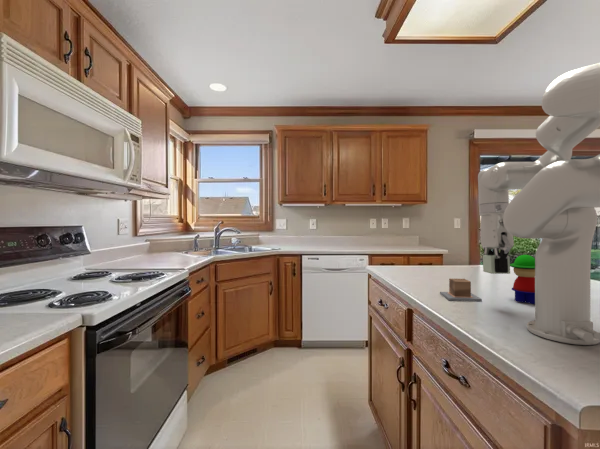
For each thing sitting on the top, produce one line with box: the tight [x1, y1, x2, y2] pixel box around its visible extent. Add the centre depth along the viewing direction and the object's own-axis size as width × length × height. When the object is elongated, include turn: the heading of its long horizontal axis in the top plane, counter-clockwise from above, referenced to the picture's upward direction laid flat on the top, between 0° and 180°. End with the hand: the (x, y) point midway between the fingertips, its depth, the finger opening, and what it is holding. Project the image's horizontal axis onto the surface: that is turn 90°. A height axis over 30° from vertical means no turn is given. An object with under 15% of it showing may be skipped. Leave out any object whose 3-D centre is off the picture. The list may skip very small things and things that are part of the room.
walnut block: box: [448, 277, 472, 297], centre depth 101 cm, size 5×5×5 cm
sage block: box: [482, 254, 511, 275], centre depth 89 cm, size 5×5×5 cm
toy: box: [510, 254, 535, 305], centre depth 96 cm, size 9×9×15 cm
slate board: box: [439, 291, 483, 302], centre depth 101 cm, size 9×10×1 cm
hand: (496, 270), depth 88 cm, fingers closed on sage block, 5 cm apart
